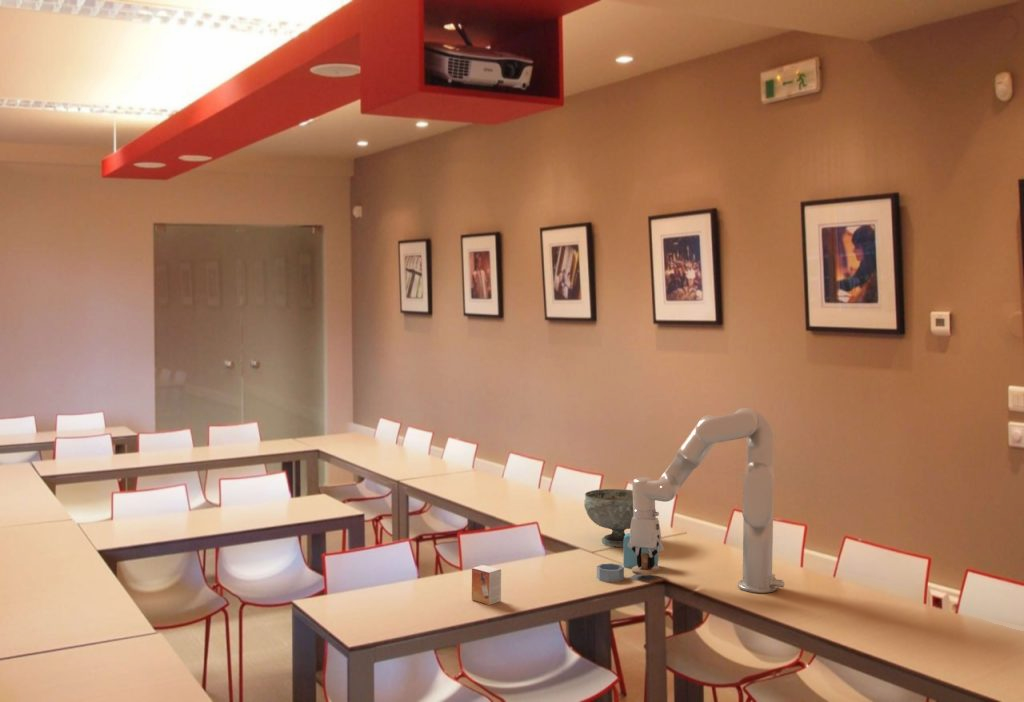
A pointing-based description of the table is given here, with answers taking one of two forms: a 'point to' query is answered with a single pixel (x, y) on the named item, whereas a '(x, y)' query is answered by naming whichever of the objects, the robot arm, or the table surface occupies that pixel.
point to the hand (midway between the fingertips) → (645, 566)
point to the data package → (633, 554)
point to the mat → (643, 577)
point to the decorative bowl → (611, 512)
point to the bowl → (610, 572)
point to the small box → (486, 584)
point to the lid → (645, 567)
